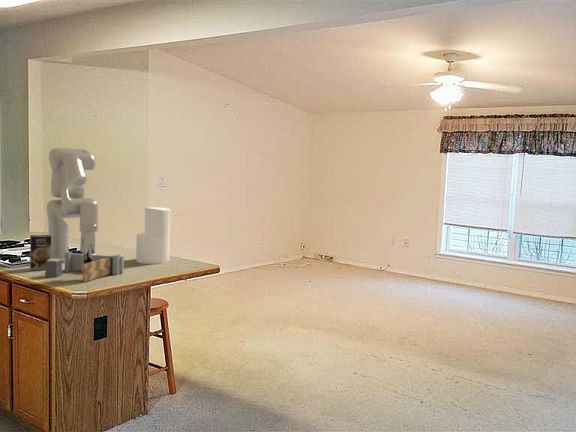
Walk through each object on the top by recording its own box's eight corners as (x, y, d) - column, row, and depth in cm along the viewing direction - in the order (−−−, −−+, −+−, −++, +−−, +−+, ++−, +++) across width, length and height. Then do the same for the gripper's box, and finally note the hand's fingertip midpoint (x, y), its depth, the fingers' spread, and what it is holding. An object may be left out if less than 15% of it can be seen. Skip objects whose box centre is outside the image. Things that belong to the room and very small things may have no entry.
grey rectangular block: (45, 276, 250) (45, 260, 249) (51, 274, 255) (51, 258, 254) (56, 277, 249) (56, 260, 248) (61, 275, 254) (61, 258, 253)
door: (110, 272, 262) (110, 256, 261) (113, 273, 261) (113, 256, 261) (82, 281, 243) (82, 263, 242) (85, 281, 242) (85, 263, 241)
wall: (62, 271, 262) (62, 252, 261) (67, 269, 266) (67, 250, 265) (119, 275, 260) (120, 256, 259) (123, 273, 264) (123, 254, 263)
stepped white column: (157, 256, 309) (158, 206, 306) (175, 261, 297) (177, 209, 294) (129, 259, 297) (130, 207, 294) (147, 265, 285) (148, 211, 282)
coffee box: (30, 270, 260) (30, 236, 258) (29, 268, 266) (29, 234, 264) (51, 269, 264) (51, 236, 262) (50, 267, 270) (50, 234, 268)
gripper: (76, 225, 252) (76, 265, 254) (82, 230, 239) (82, 272, 241) (93, 225, 255) (93, 264, 258) (100, 230, 243) (100, 271, 245)
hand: (88, 268), depth 249 cm, fingers closed
